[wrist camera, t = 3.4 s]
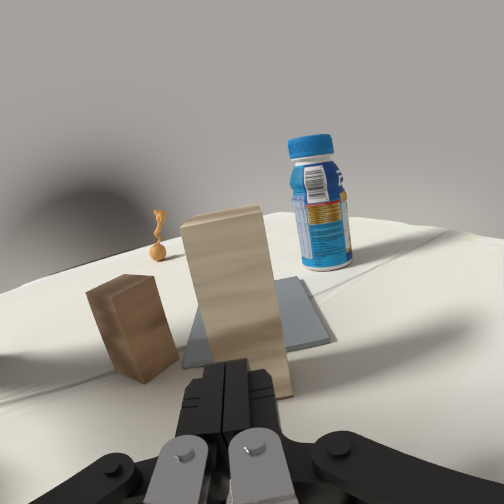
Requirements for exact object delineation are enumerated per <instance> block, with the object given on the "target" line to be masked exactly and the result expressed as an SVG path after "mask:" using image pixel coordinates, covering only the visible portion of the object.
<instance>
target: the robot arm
mask: <svg viewBox="0 0 504 504" xmlns="http://www.w3.org/2000/svg"><path fill="white" fill-rule="evenodd" d="M181 407H182V409H181V411H180V416H179V420H178V425H177V430H176V435H175V438H173V439H171V440H170V441H168V442H167V443H166V444H165V445H164V446H163V447H162V449H161V451H160V454H159V456H157V457H155V458H151V459H148V460H144V461H139V462H135V463H134V462H133V460H132V459H131V458H130V457H129V456H128V455H126V454H123V453H110V454H107V455H105V456H103V457H101V458H99V459H98V460H96V461H95V462H93V463H92V464H91V465H89V466H88V467H86V468H85V469H83V470H82V471H80V472H78V473H77V474H75V475H74V476H72V477H71V478H69V479H68V480H66V481H65V482H63V483H61V484H60V485H58V486H57V487H55V488H53V489H52V490H50V491H49V492H47V493H45V494H44V495H42V496H40V497H39V498H37V499H35V500H34V501H32V502H30V503H29V504H231V494H230V492H229V482H230V479H231V484H232V494H233V504H504V484H501V483H497V482H493V481H489V480H485V479H482V478H478V477H474V476H471V475H467V474H464V473H461V472H457V471H454V470H451V469H448V468H445V467H442V466H439V465H436V464H433V463H430V462H427V461H424V460H421V459H419V458H416V457H413V456H410V455H408V454H405V453H402V452H400V451H397V450H395V449H392V448H390V447H387V446H385V445H382V444H380V443H377V442H375V441H372V440H370V439H368V438H365V437H363V436H361V435H358V434H356V433H353V432H350V431H335V432H331V433H328V434H326V435H324V436H322V437H321V438H319V439H318V440H317V441H316V442H315V443H300V442H295V441H292V440H290V439H288V438H287V437H285V436H284V435H283V434H282V431H281V424H280V418H279V412H278V406H277V401H276V396H275V391H274V386H273V381H272V376H271V375H270V374H269V373H268V372H267V371H266V370H265V369H259V370H253V371H251V369H250V365H249V361H248V358H241V359H235V360H228V361H227V362H226V361H222V362H216V363H208V364H205V366H204V373H203V378H199V379H193V380H192V381H191V382H190V384H189V385H188V386H187V387H186V389H185V393H184V397H183V402H182V406H181Z"/></svg>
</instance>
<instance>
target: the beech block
mask: <svg viewBox="0 0 504 504" xmlns="http://www.w3.org/2000/svg"><path fill="white" fill-rule="evenodd" d="M180 231H181V236H182V240H183V244H184V249H185V253H186V257H187V261H188V265H189V269H190V273H191V277H192V281H193V285H194V289H195V293H196V297H197V301H198V305H199V308H200V312H201V316H202V319H203V323H204V327H205V330H206V334H207V337H208V341H209V345H210V348H211V351H212V355H213V358H214V362H215V363H216V362H222V361H226V362H227V361H228V360H235V359H241V358H248V361H249V365H250V369H251V371H253V370H259V369H265V370H266V371H267V372H268V373H269V374H270V375H271V376H272V381H273V386H274V391H275V396H276V400H279V399H285V398H290V397H293V392H292V385H291V379H290V373H289V367H288V360H287V354H286V348H285V342H284V336H283V330H282V324H281V318H280V312H279V306H278V300H277V294H276V288H275V283H274V277H273V271H272V265H271V260H270V254H269V248H268V243H267V237H266V231H265V226H264V220H263V215H262V211H261V209H260V207H259V206H258V204H252V205H247V206H241V207H236V208H231V209H226V210H220V211H216V212H210V213H206V214H200V215H196V216H192V217H191V218H190V219H188V221H186V222H185V224H183V225H182V226H181V227H180Z"/></svg>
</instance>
